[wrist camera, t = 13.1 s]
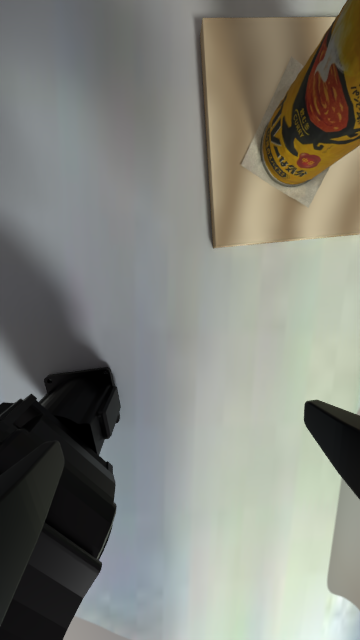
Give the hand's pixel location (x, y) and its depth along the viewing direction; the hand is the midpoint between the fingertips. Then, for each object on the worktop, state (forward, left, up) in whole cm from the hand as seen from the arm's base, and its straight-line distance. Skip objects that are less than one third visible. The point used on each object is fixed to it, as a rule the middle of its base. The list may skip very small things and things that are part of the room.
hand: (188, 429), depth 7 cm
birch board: (+13, +16, -13) cm, 24 cm away
